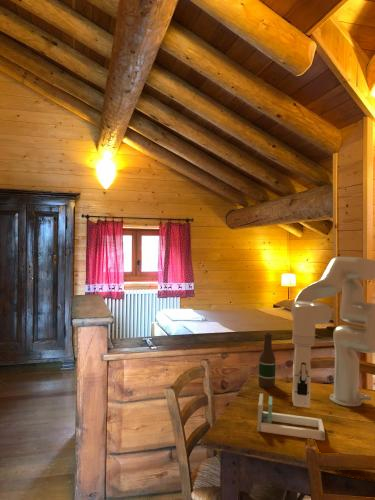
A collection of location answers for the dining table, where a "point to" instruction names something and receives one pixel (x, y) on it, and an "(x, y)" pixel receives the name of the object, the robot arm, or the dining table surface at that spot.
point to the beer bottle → (267, 364)
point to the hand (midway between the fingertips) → (301, 390)
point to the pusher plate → (269, 412)
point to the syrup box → (301, 399)
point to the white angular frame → (292, 420)
